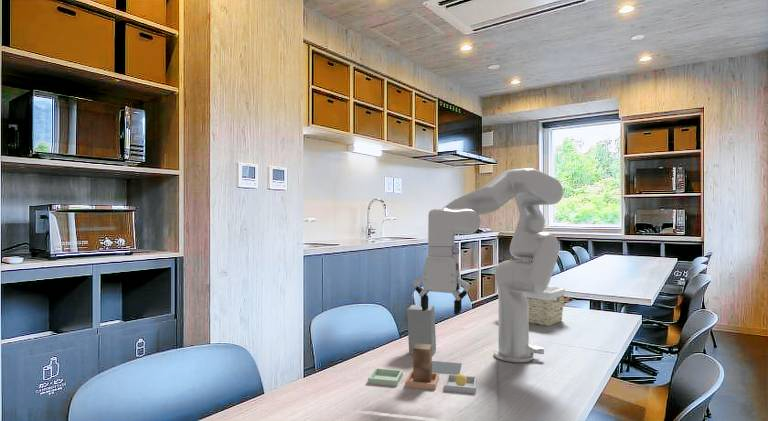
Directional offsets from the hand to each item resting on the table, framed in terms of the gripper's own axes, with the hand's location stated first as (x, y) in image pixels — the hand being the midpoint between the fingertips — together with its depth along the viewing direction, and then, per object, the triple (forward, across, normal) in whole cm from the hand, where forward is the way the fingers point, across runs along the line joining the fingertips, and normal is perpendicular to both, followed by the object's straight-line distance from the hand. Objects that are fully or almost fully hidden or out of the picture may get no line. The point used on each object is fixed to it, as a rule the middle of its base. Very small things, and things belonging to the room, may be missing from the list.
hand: (440, 311), depth 128 cm
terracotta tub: (+19, +3, +6) cm, 20 cm away
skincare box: (+19, +14, -19) cm, 30 cm away
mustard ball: (+17, -7, +4) cm, 19 cm away
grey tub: (+19, -7, +4) cm, 21 cm away
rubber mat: (+19, +2, -8) cm, 21 cm away
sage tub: (+19, +13, +9) cm, 25 cm away
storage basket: (+18, -12, -83) cm, 86 cm away
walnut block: (+19, +3, +6) cm, 20 cm away
